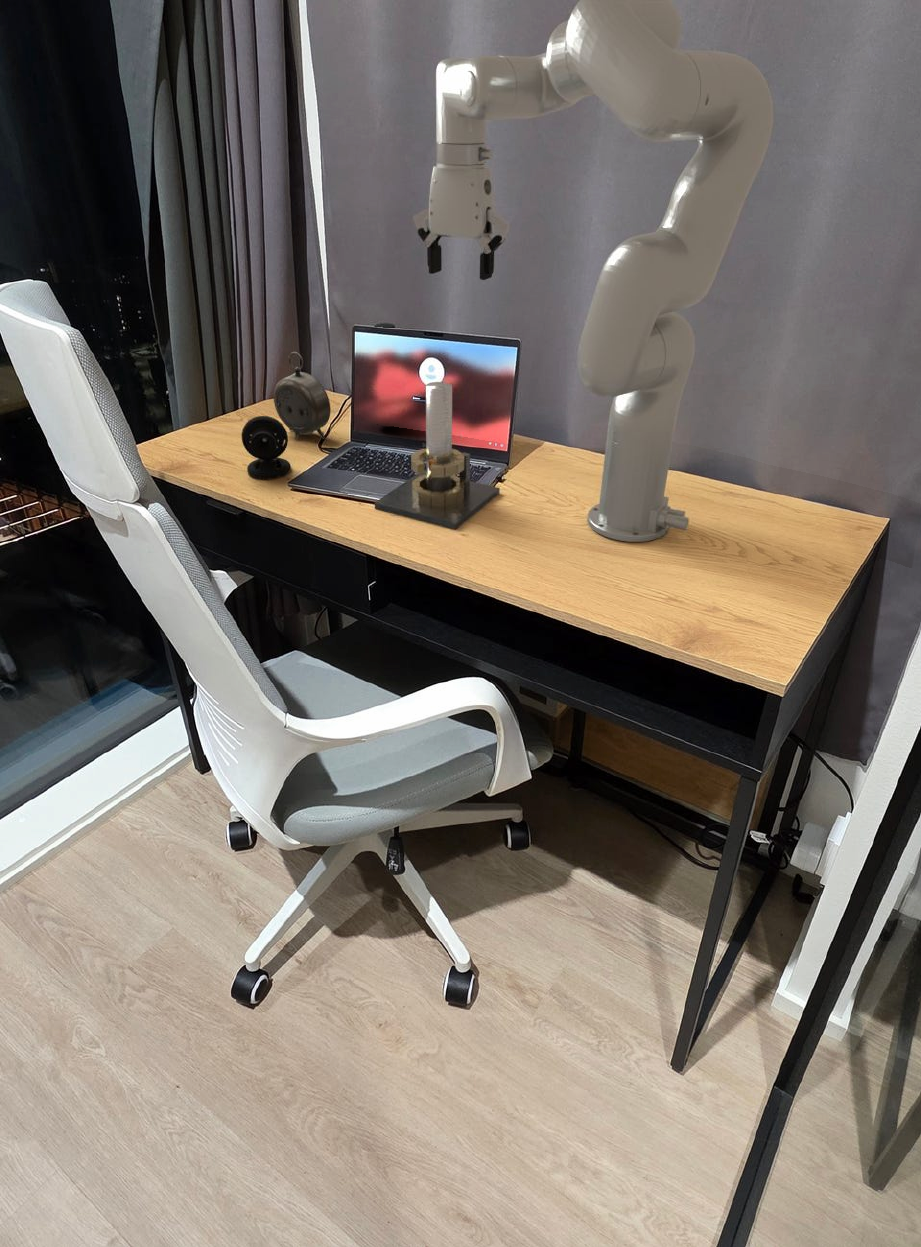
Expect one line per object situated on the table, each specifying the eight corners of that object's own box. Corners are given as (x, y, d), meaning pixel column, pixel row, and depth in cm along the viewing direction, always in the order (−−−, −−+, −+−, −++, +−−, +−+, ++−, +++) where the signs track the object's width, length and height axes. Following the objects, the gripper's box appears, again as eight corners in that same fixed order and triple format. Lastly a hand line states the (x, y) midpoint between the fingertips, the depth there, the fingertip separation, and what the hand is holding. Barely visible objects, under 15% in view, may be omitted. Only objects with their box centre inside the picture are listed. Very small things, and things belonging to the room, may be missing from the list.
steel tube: (434, 488, 132) (434, 380, 122) (455, 493, 131) (457, 384, 121) (421, 497, 129) (420, 387, 119) (442, 502, 128) (443, 391, 118)
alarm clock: (334, 438, 153) (327, 353, 144) (316, 447, 149) (307, 360, 140) (292, 427, 158) (282, 344, 149) (273, 435, 154) (261, 350, 145)
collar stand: (499, 493, 133) (500, 450, 129) (455, 529, 122) (455, 484, 118) (423, 475, 139) (422, 433, 135) (374, 508, 128) (372, 464, 124)
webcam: (245, 481, 137) (236, 425, 131) (249, 464, 143) (240, 409, 137) (290, 479, 138) (283, 423, 132) (292, 462, 144) (286, 408, 138)
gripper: (521, 157, 122) (516, 277, 131) (425, 152, 129) (427, 266, 138) (500, 161, 116) (496, 285, 126) (400, 155, 123) (404, 274, 133)
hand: (460, 275), depth 132 cm, fingers open, 9 cm apart
